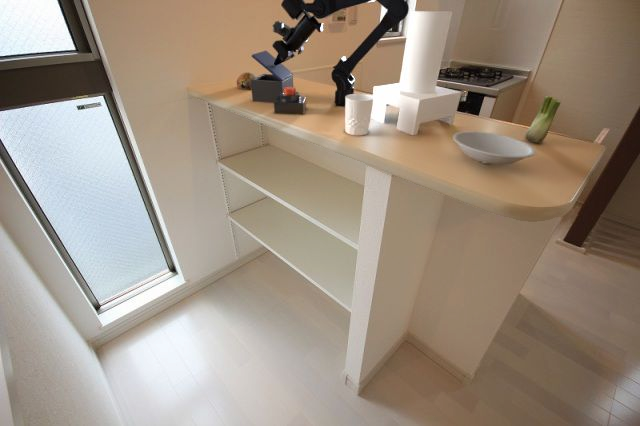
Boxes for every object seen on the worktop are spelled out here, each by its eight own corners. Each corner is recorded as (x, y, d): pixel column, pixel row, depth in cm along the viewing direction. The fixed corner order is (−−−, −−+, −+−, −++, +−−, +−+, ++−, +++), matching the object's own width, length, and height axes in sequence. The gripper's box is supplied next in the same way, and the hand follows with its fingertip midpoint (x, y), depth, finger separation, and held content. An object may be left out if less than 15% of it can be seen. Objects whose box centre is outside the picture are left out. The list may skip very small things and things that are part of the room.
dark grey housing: (252, 101, 116) (250, 79, 112) (265, 93, 126) (263, 73, 122) (283, 103, 114) (281, 82, 109) (293, 96, 124) (292, 75, 119)
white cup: (369, 128, 92) (373, 94, 87) (370, 137, 86) (374, 101, 80) (343, 126, 93) (345, 93, 87) (342, 135, 86) (345, 100, 81)
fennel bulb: (543, 146, 82) (564, 101, 75) (523, 142, 84) (541, 98, 77) (542, 139, 86) (562, 96, 79) (523, 136, 88) (540, 93, 81)
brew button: (296, 93, 105) (296, 86, 103) (294, 95, 101) (294, 89, 100) (285, 92, 105) (285, 86, 104) (283, 95, 102) (282, 89, 100)
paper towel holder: (412, 135, 87) (436, 12, 70) (370, 118, 100) (381, 10, 83) (452, 124, 96) (483, 12, 79) (409, 110, 109) (426, 11, 92)
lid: (251, 56, 107) (252, 54, 106) (265, 52, 117) (266, 50, 117) (281, 81, 109) (282, 79, 109) (292, 75, 119) (293, 73, 119)
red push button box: (306, 108, 109) (305, 91, 106) (303, 114, 103) (302, 96, 99) (279, 107, 110) (277, 90, 106) (274, 113, 103) (273, 95, 100)
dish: (531, 162, 73) (540, 143, 70) (520, 184, 64) (529, 163, 61) (458, 144, 82) (463, 126, 79) (439, 161, 73) (444, 142, 70)
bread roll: (262, 95, 138) (265, 77, 136) (246, 89, 129) (250, 69, 127) (246, 92, 142) (249, 75, 140) (230, 86, 133) (233, 67, 131)
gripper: (294, 11, 109) (269, 44, 118) (276, 12, 95) (248, 49, 103) (315, 37, 112) (288, 67, 121) (300, 41, 97) (271, 75, 106)
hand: (274, 64), depth 113 cm, fingers closed
